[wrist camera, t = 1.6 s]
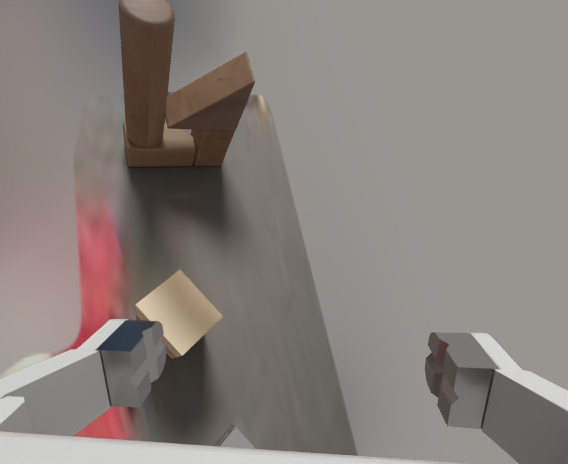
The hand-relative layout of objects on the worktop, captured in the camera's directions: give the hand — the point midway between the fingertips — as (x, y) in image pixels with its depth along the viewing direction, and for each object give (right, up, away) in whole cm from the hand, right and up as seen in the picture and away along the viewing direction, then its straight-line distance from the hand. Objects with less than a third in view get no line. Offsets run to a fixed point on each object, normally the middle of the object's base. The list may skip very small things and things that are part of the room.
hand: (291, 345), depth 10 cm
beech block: (-11, -6, +22) cm, 25 cm away
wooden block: (-13, +13, +29) cm, 34 cm away
